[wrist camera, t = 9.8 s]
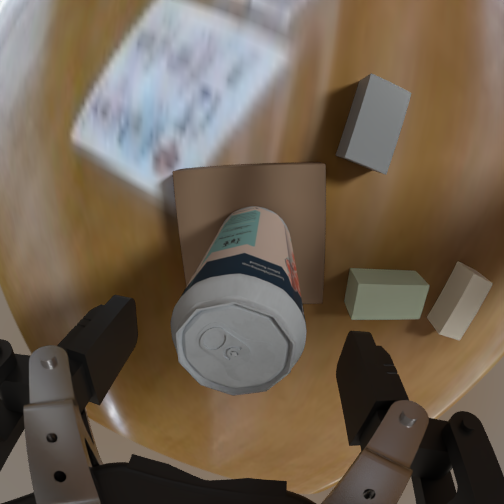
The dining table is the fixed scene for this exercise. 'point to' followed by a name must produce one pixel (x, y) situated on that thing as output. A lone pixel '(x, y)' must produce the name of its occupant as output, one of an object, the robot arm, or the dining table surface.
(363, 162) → the slate brick
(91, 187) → the dining table surface
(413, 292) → the sage brick
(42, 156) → the dining table surface
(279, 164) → the walnut slab
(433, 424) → the robot arm
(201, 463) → the dining table surface
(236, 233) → the beer can
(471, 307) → the cream brick
